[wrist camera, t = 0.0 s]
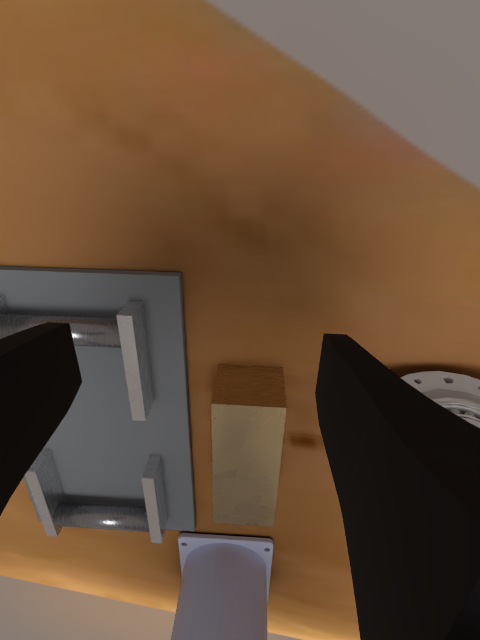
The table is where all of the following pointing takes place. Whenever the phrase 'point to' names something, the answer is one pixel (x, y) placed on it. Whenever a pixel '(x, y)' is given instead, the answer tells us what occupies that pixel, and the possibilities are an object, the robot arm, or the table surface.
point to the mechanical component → (450, 392)
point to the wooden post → (247, 443)
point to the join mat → (117, 388)
